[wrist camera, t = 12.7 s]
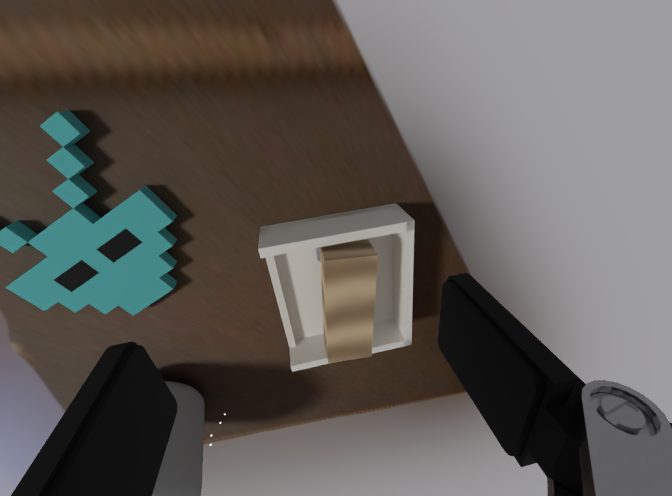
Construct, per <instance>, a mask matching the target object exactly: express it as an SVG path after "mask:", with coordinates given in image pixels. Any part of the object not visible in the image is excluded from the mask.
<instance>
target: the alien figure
mask: <svg viewBox="0 0 672 496" xmlns="http://www.w3.org/2000/svg"><path fill="white" fill-rule="evenodd" d="M40 127H42V128H43V129H44V130H45V131H46V132H47V133H48V134H49V135H50V136H52V137H53V138H54V139H55V140H56V141H57V142H58V143H59V144H60V145H62V146H63V148H61V149H60V150H59V151H57V152H56V153H55V154H54V155H52V156H51V157H50V158H48V159H47V161H48V162H49V163H50V164H51V165H53V166H54V167H55V168H56V169H57V170H58V171H60V172H61V173H62V174H63V175H64V176H65V177H67V178H68V180H67V181H65V182H64V183H63V184H61V185H60V186H59V187H57V188H56V189H55V190H53V191H52V192H54V193H55V194H56V195H57V196H59V197H60V198H61V199H62V200H64V201H65V202H66V203H67V204H68V205H70V206H71V207H72V208H73V209H72V210H70V211H69V212H68V213H66V214H65V215H64V216H62V217H61V218H60V219H58V220H57V221H56V222H54V223H53V224H52V225H50V226H49V227H47V228H46V229H45V230H43V231H42V232H41V233H39V234H36V233H35V232H34V231H32V230H31V229H29V228H28V227H27V226H25V225H24V224H22V223H21V222H20V221H16V222H14V223H12V224H10V225H8V226H6V227H5V228H3V229H2V230H1V229H0V245H1V246H2V247H4V248H5V249H7V250H8V251H10V252H11V253H14V252H16V251H17V250H19V249H20V248H22V247H24V246H25V245H26V244H28V243H29V244H31V245H32V246H33V247H35V248H36V249H38V250H39V251H41V252H42V253H43V254H45V255H46V256H48V257H47V258H45V259H44V260H43V261H41V262H40V263H38V264H37V265H36V266H34V267H33V268H32V269H30V270H29V271H27V272H26V273H25V274H23V275H22V276H21V277H19V278H18V279H16V280H15V281H14V282H12V283H11V284H10V285H8V286H7V287H6V288H7V289H8V290H10V291H12V292H13V293H15V294H17V295H18V296H20V297H22V298H23V299H25V300H27V301H28V302H30V303H32V304H34V305H35V306H37V307H39V308H40V309H42V310H44V311H45V310H47V309H48V308H50V307H51V306H53V305H54V304H55V303H57V302H59V303H61V304H62V305H64V306H66V307H67V308H69V309H70V310H72V311H74V312H75V313H76V312H77V311H79V310H80V309H82V308H83V307H85V306H86V305H88V304H90V305H92V306H93V307H95V308H96V309H98V310H99V311H101V312H102V313H104V314H106V313H108V312H109V311H111V310H112V309H114V308H115V307H117V306H118V305H119V306H120V307H121V308H123V309H124V310H126V311H127V312H129V313H130V314H132V315H133V316H134V315H135V314H137V313H138V312H140V311H141V310H143V309H144V308H146V307H147V306H149V305H150V304H152V303H153V302H155V301H156V300H158V299H159V298H161V297H162V296H164V295H165V294H167V293H168V292H170V291H171V290H173V289H174V287H175V285H176V283H177V281H176V280H175V279H174V278H172V277H171V276H170V275H169V274H168V273H167V272H169V271H170V270H171V269H173V268H174V266H175V264H176V262H177V261H176V260H175V259H174V258H173V257H172V256H171V255H170V254H168V253H167V252H166V250H168V249H169V248H171V247H172V246H173V245H174V243H175V242H176V240H177V239H176V238H175V237H174V236H173V235H172V234H171V233H170V232H169V231H168V230H167V229H166V228H164V227H166V226H167V225H168V224H170V223H171V222H173V221H174V219H175V218H176V217H177V215H176V214H175V213H174V212H173V211H172V210H171V209H170V208H169V207H168V206H167V205H166V204H165V203H164V202H163V201H162V200H161V199H160V198H159V197H158V196H157V195H155V194H154V193H153V192H152V191H151V190H150V189H149V188H148V187H147V186H144V187H143V188H142V189H140V190H139V191H138V192H136V193H135V194H133V195H132V196H131V197H129V198H128V199H127V200H125V201H124V202H122V203H121V204H120V205H118V206H117V207H116V208H114V209H113V210H111V211H110V212H109V213H107V214H106V215H104V216H103V217H102V218H101V217H99V216H98V215H97V214H96V213H95V212H93V211H92V210H91V209H90V208H89V207H87V206H86V205H85V204H84V203H83V202H84V201H86V200H87V199H88V198H90V197H91V196H92V195H94V194H95V193H97V192H98V191H97V190H96V189H95V188H93V187H92V186H91V185H90V184H89V183H88V182H87V181H85V180H84V179H83V178H82V177H81V176H80V175H79V174H80V173H81V172H83V171H84V170H85V169H87V168H88V167H89V166H91V165H92V164H93V163H94V162H93V161H92V160H91V159H90V158H89V157H88V156H87V155H86V154H85V153H83V152H82V151H81V150H80V149H79V148H78V147H77V146H76V145H75V143H76V142H77V141H79V140H80V139H81V138H83V137H84V136H85V135H86V134H88V133H89V132H90V130H89V129H88V128H87V127H86V126H85V125H84V124H83V123H82V122H81V121H80V120H79V119H78V118H77V117H76V116H75V115H74V114H73V113H71V112H70V111H59V112H56V113H55V114H54V115H53V116H51V117H50V118H49V119H48V120H46V121H45V122H44V123H43V124H41V125H40Z"/></svg>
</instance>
